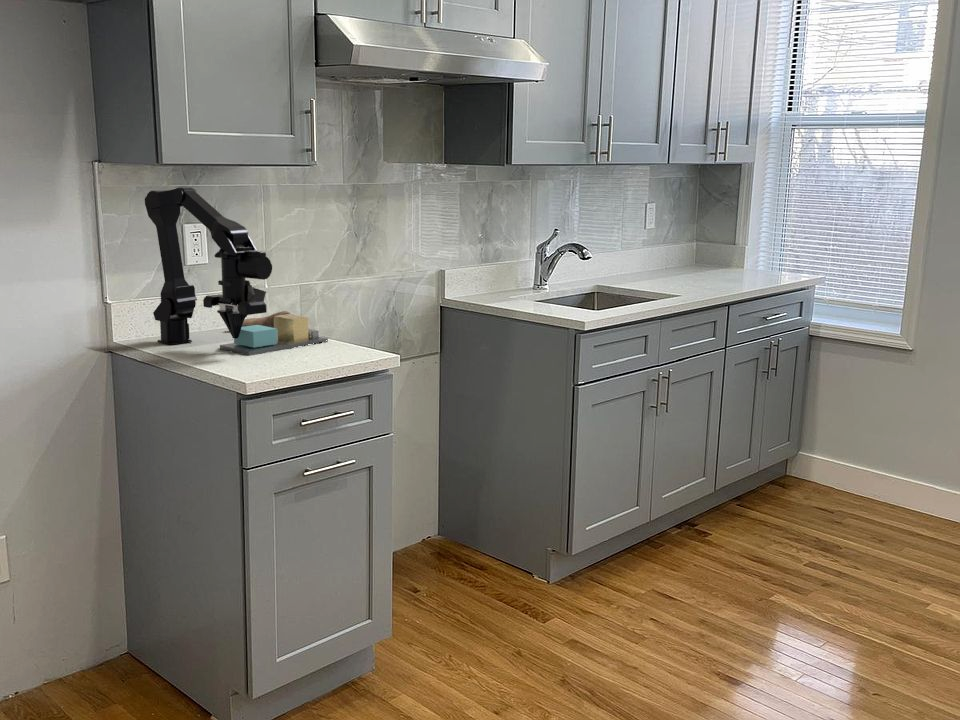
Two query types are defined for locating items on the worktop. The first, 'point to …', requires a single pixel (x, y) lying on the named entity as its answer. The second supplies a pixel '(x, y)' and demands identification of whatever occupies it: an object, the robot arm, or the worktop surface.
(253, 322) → the pipe
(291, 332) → the brass block
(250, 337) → the slide jaw
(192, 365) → the worktop surface
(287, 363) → the worktop surface
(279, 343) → the vise
